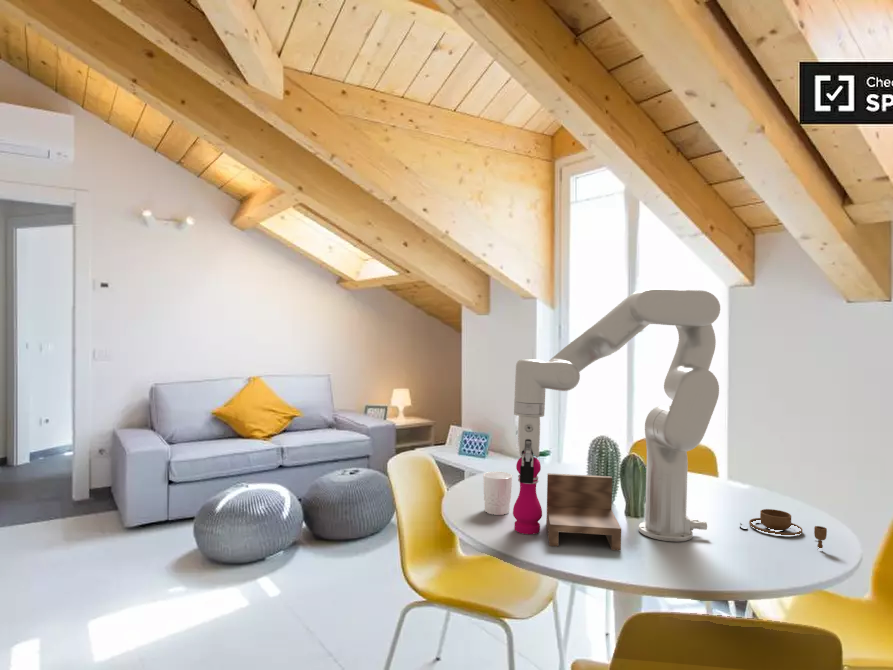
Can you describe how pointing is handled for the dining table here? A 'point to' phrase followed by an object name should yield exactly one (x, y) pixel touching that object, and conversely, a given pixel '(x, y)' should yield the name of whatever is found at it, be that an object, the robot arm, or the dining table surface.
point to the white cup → (497, 492)
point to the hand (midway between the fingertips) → (526, 477)
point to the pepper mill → (528, 503)
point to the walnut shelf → (581, 507)
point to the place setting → (784, 524)
